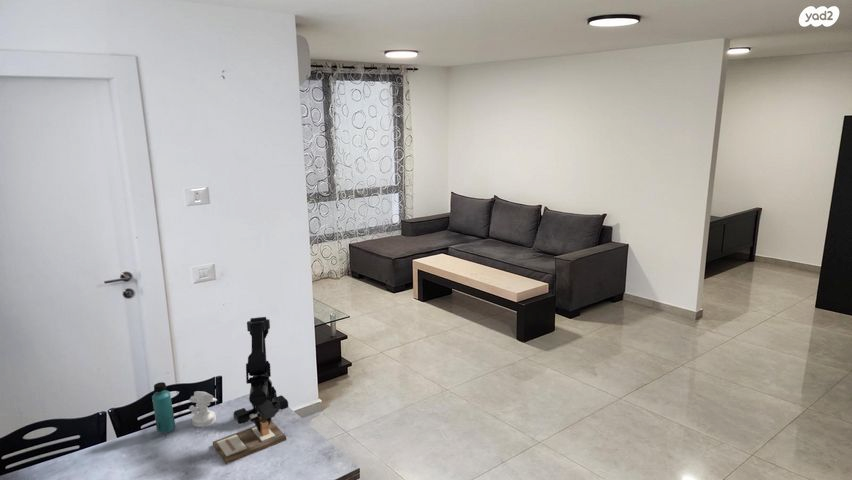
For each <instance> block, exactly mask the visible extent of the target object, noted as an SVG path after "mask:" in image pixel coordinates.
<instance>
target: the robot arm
mask: <svg viewBox="0 0 852 480" xmlns="http://www.w3.org/2000/svg"><path fill="white" fill-rule="evenodd" d="M246 328H247V329H246V330H247V332H249V335H250V336H251V353H250V354H249V355H248V356H247V363H245V371H246V372H245V375H246V376H245V377H246V379H245V380H246V381H245V382H246V384H250V389H249V395H248V396H249V399H248V400H249V402H250V404H251V406H252V408H251V409H249V410H247V409H246V408H245V407H243V408H240V409H237V410H234V412H233V419H234V420H235V421H236V423H237V424H238V425H242V424H245V423H248V422H249V421H250V422H251V423H254V426H255V425H256V427H257V429H258V431H259V432H260V424H259V417H261V418H262V420H267V421H268V424H270V421H271V419H272V418H274V417H275V416H276V415H277V413H278V412H279V411H280V410H281V411H282V410H284V409H285V410H286V409H288V408H289V401H288V399H286V397H284V395H282V394H281V395H277V390H276V388H275V386H273V382H272V380H271V379H270V377H271V376H272V375H271V374H272V373H271V363H270V361H269V360H267V349H266V347H267V346H266V338H267V336H268V335H269V333H270V332H269V330H270V328H271V322H270V319H267V316H260V317H259V316H257V317H251V318H250V320H249V321H248V320H247V322H246ZM249 376H250V377H249Z"/></svg>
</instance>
